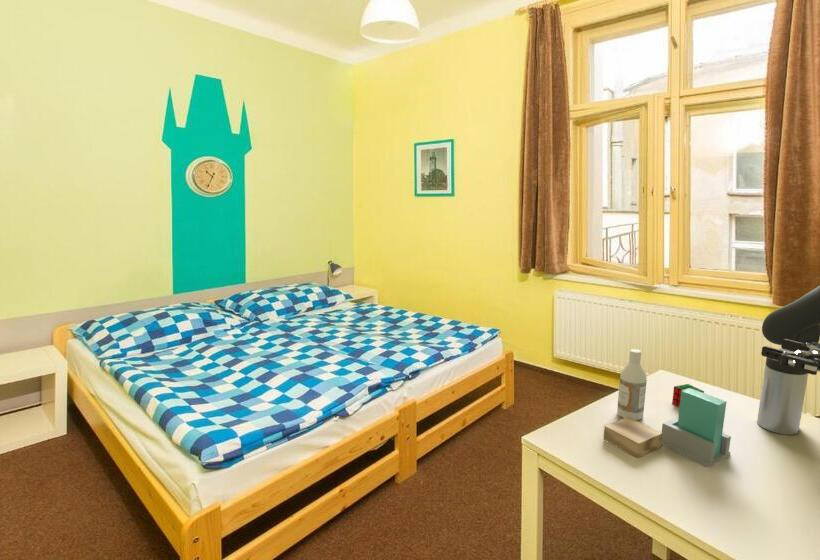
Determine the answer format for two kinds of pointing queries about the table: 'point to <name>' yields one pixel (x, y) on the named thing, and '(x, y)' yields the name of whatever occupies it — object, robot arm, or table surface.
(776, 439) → the table surface
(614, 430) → the wooden square base
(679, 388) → the puzzle toy
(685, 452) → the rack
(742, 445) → the table surface
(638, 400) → the bath foam
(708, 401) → the teal rectangular block
